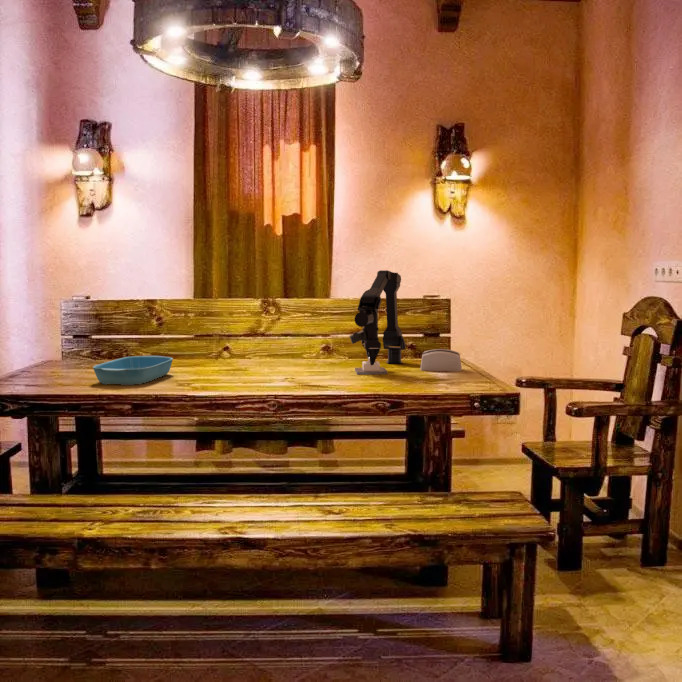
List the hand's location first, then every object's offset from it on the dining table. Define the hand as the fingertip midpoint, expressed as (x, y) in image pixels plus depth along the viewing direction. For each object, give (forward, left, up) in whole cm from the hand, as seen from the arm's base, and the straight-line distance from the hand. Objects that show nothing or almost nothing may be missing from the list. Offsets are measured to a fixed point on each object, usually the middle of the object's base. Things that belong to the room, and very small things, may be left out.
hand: (370, 363), depth 292 cm
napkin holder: (-2, +29, -4) cm, 29 cm away
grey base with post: (0, 0, -4) cm, 4 cm away
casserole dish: (+8, -92, -4) cm, 92 cm away
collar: (0, 0, -2) cm, 2 cm away
